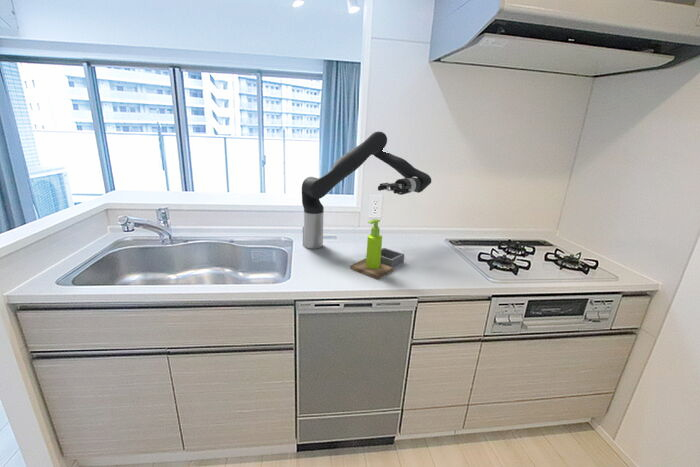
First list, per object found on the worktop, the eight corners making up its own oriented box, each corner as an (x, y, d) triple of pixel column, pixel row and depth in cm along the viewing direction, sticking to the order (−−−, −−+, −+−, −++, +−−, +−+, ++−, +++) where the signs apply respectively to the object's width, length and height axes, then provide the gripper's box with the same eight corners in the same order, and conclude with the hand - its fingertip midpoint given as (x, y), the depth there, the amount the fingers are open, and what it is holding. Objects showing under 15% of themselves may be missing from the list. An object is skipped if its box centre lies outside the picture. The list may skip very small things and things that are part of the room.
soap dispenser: (361, 266, 131) (364, 219, 125) (371, 262, 136) (375, 217, 130) (372, 270, 127) (375, 223, 121) (382, 266, 132) (386, 220, 126)
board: (350, 268, 132) (350, 265, 132) (366, 261, 140) (366, 258, 140) (377, 279, 124) (377, 275, 123) (392, 270, 132) (393, 267, 131)
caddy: (370, 261, 140) (370, 253, 139) (383, 255, 147) (383, 247, 146) (391, 269, 133) (391, 260, 132) (403, 262, 141) (404, 254, 140)
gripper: (393, 176, 158) (374, 179, 146) (419, 180, 149) (400, 183, 137) (392, 191, 160) (373, 195, 148) (417, 196, 152) (399, 200, 140)
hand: (386, 189), depth 143 cm, fingers open, 8 cm apart
